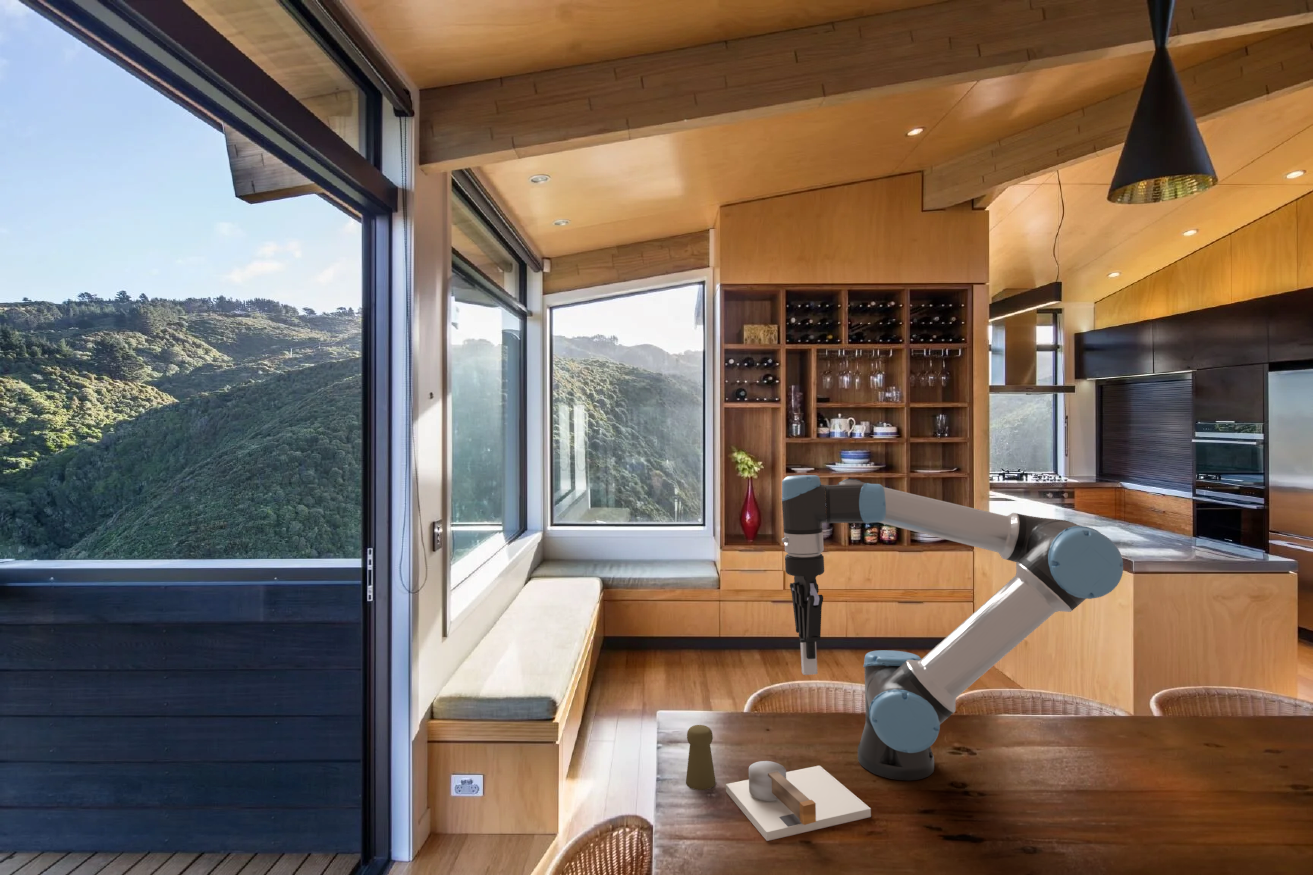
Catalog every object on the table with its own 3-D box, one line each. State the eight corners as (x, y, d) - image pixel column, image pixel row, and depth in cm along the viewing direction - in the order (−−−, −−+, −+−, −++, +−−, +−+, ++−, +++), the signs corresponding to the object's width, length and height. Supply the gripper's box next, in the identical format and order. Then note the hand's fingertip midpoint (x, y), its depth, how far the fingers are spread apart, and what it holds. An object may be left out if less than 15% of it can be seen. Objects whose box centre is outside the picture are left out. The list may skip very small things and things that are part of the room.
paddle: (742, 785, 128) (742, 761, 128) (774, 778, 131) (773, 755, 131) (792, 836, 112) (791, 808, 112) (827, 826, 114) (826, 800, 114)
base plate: (819, 772, 137) (819, 764, 137) (870, 816, 121) (870, 807, 121) (725, 791, 130) (725, 783, 130) (766, 840, 114) (766, 831, 114)
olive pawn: (714, 791, 131) (712, 734, 131) (683, 788, 132) (682, 732, 132) (717, 775, 136) (716, 721, 136) (688, 773, 138) (687, 720, 138)
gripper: (776, 549, 138) (781, 663, 137) (796, 560, 125) (801, 686, 124) (811, 547, 138) (816, 661, 138) (834, 557, 125) (840, 683, 125)
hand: (809, 673), depth 131 cm, fingers closed
